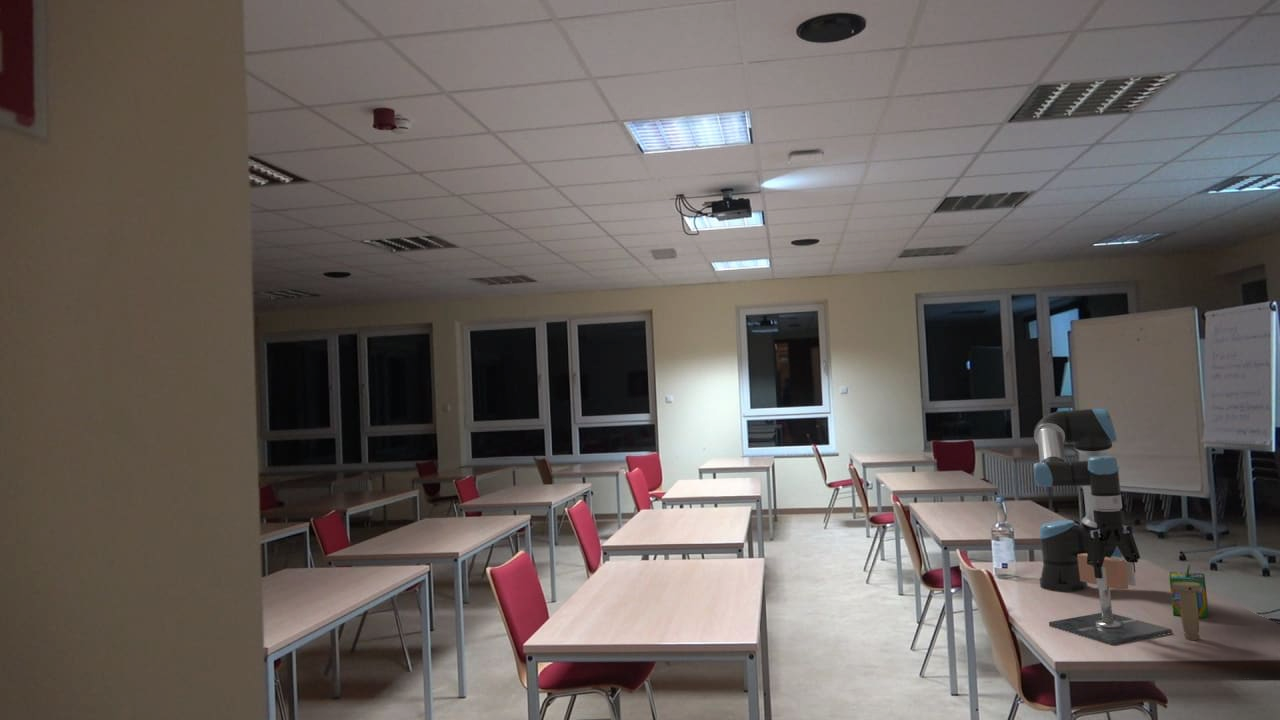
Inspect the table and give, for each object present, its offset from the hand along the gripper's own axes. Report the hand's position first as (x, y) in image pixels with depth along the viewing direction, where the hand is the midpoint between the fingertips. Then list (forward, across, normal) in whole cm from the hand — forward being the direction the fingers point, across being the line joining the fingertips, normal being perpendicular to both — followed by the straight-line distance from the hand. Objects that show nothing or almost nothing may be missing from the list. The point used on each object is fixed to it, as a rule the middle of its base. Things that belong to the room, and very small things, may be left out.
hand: (1116, 587), depth 224 cm
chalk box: (+13, +33, +6) cm, 36 cm away
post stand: (+13, 0, +4) cm, 14 cm away
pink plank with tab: (0, 0, +5) cm, 5 cm away
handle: (+13, +11, -12) cm, 21 cm away
